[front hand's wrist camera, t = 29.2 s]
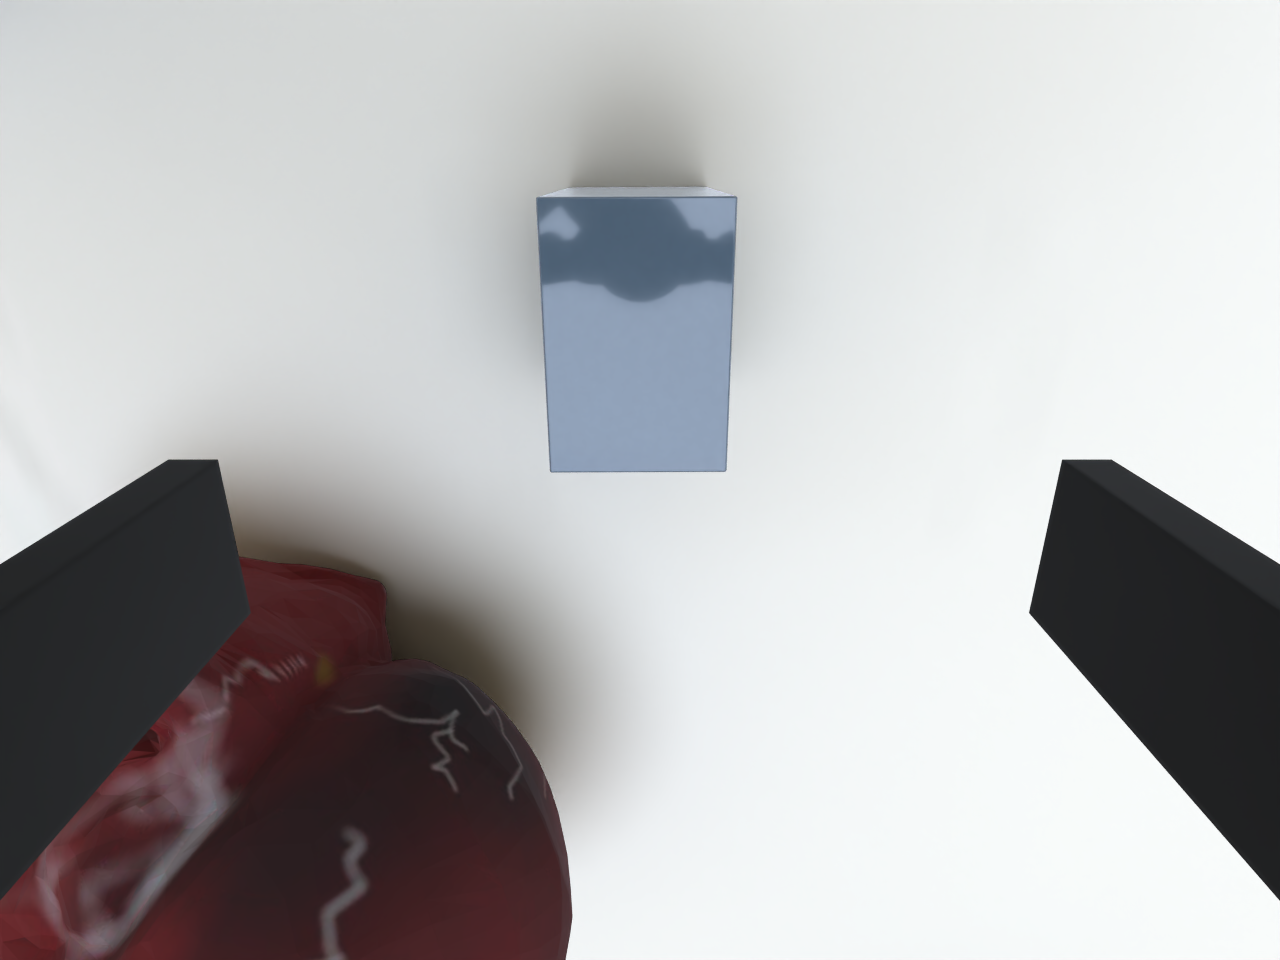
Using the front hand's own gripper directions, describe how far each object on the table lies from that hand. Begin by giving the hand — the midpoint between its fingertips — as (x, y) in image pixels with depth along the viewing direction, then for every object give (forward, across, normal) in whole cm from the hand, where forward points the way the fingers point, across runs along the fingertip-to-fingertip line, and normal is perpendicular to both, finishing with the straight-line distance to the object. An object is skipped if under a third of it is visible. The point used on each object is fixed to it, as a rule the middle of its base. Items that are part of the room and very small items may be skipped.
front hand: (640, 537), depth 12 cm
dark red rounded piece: (+26, +15, +22) cm, 37 cm away
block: (+26, 0, 0) cm, 26 cm away
